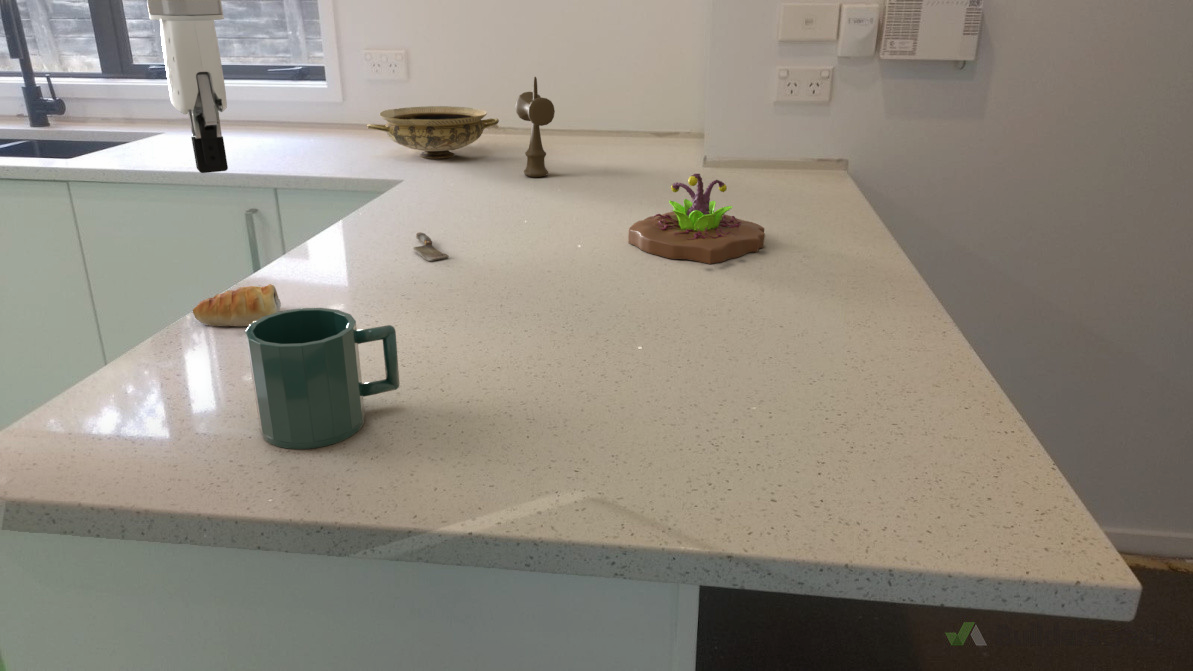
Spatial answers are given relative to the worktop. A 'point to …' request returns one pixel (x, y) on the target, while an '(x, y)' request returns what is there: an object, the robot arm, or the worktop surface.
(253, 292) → the pastry
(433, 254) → the meat cleaver
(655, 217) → the plant
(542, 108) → the kendama
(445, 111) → the ceramic bowl
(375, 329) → the mug
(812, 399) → the worktop surface
